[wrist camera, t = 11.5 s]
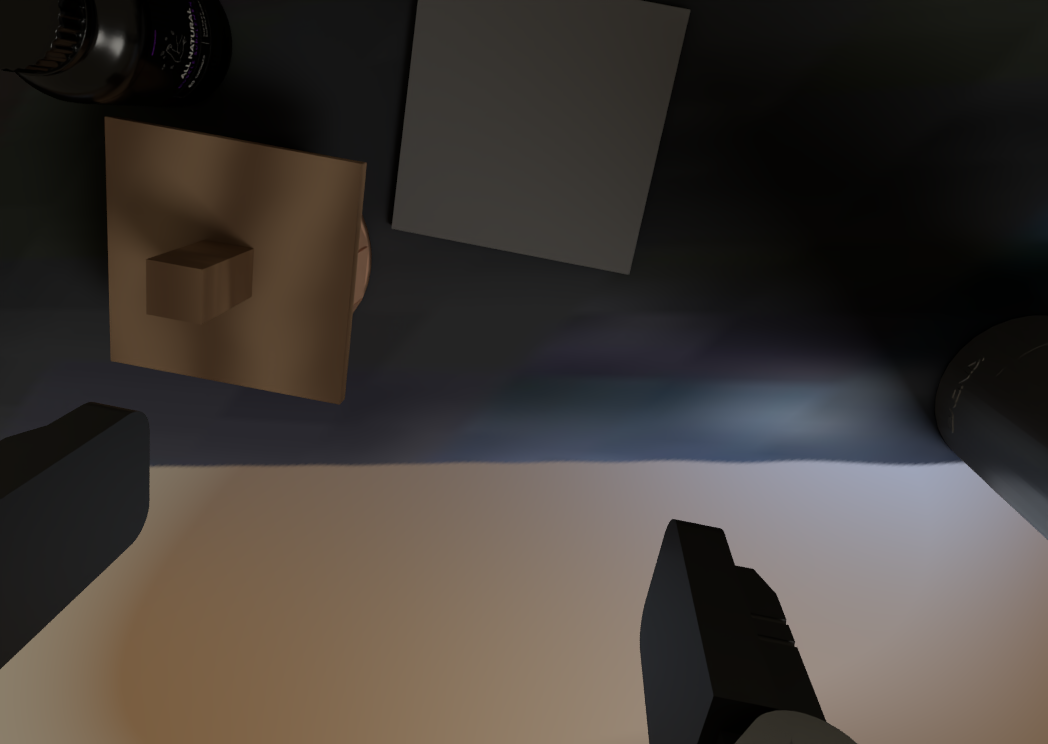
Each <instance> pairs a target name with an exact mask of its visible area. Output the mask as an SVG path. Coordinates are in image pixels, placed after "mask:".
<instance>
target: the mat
mask: <svg viewBox="0 0 1048 744" xmlns="http://www.w3.org/2000/svg"><path fill="white" fill-rule="evenodd" d="M689 14H690V10H689V9H684V8H679V7H673V6H668V5H663V4H657V3H652V2H647V1H641V0H418V4H417V13H416V22H415V30H414V39H413V48H412V56H411V65H410V74H409V82H408V91H407V100H406V108H405V117H404V126H403V134H402V143H401V151H400V160H399V169H398V177H397V186H396V195H395V203H394V212H393V221H392V229H396V230H401V231H406V232H412V233H417V234H422V235H427V236H432V237H437V238H443V239H448V240H453V241H458V242H463V243H468V244H473V245H479V246H484V247H489V248H494V249H499V250H504V251H509V252H515V253H520V254H525V255H530V256H535V257H540V258H545V259H551V260H556V261H561V262H566V263H571V264H576V265H582V266H587V267H592V268H597V269H602V270H607V271H612V272H618V273H623V274H628V275H629V273H630V268H631V264H632V260H633V255H634V251H635V247H636V243H637V238H638V234H639V230H640V225H641V221H642V217H643V212H644V208H645V204H646V200H647V195H648V191H649V187H650V182H651V178H652V174H653V169H654V165H655V161H656V156H657V152H658V148H659V144H660V139H661V135H662V131H663V126H664V122H665V118H666V113H667V109H668V105H669V101H670V96H671V92H672V88H673V83H674V79H675V75H676V70H677V66H678V62H679V57H680V53H681V49H682V45H683V40H684V36H685V32H686V27H687V23H688V19H689Z"/></svg>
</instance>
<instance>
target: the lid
mask: <svg viewBox="0 0 1048 744" xmlns="http://www.w3.org/2000/svg"><path fill="white" fill-rule="evenodd" d="M105 150H106V190H107V229H108V268H109V307H110V347H111V361H115V362H120V363H125V364H130V365H136V366H141V367H146V368H151V369H156V370H162V371H167V372H172V373H177V374H183V375H188V376H193V377H198V378H204V379H209V380H214V381H219V382H225V383H230V384H235V385H240V386H245V387H251V388H256V389H261V390H266V391H272V392H277V393H282V394H287V395H293V396H298V397H303V398H308V399H314V400H319V401H324V402H329V403H334V404H341V402H342V401H343V400H344V399H345V390H346V379H347V368H348V357H349V347H350V336H351V325H352V314H353V304H354V293H355V282H356V272H357V261H358V250H359V239H360V229H361V218H362V207H363V196H364V186H365V175H366V164H367V163H365V162H359V161H354V160H349V159H343V158H338V157H332V156H327V155H322V154H316V153H311V152H305V151H300V150H294V149H289V148H284V147H278V146H273V145H267V144H262V143H257V142H251V141H246V140H240V139H235V138H229V137H224V136H219V135H213V134H208V133H202V132H197V131H192V130H186V129H181V128H175V127H170V126H164V125H159V124H154V123H148V122H143V121H137V120H132V119H126V118H121V117H116V116H108V117H105Z"/></svg>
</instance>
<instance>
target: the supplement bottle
mask: <svg viewBox="0 0 1048 744" xmlns="http://www.w3.org/2000/svg"><path fill="white" fill-rule="evenodd" d="M231 54H232V37H231V30H230V26H229V22H228V19H227V16H226V13H225V11H224V9H223V7H222V5H221V3H220V1H219V0H0V69H1V70H3V71H9V72H15V73H16V74H17V75H18V76H19V77H20V78H22V79H23V80H24V81H25V82H27V83H28V84H29V85H31V86H32V87H34V88H35V89H37V90H39V91H40V92H42V93H44V94H46V95H49V96H51V97H53V98H56V99H59V100H63V101H67V102H74V103H82V104H103V105H126V106H148V107H184V106H189V105H193V104H196V103H198V102H200V101H202V100H204V99H206V98H207V97H208V96H210V95H211V94H212V93H213V92H214V91H215V90H216V89H217V88H218V87H219V86H220V84H221V83H222V81H223V79H224V77H225V76H226V73H227V71H228V68H229V65H230V61H231Z"/></svg>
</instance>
